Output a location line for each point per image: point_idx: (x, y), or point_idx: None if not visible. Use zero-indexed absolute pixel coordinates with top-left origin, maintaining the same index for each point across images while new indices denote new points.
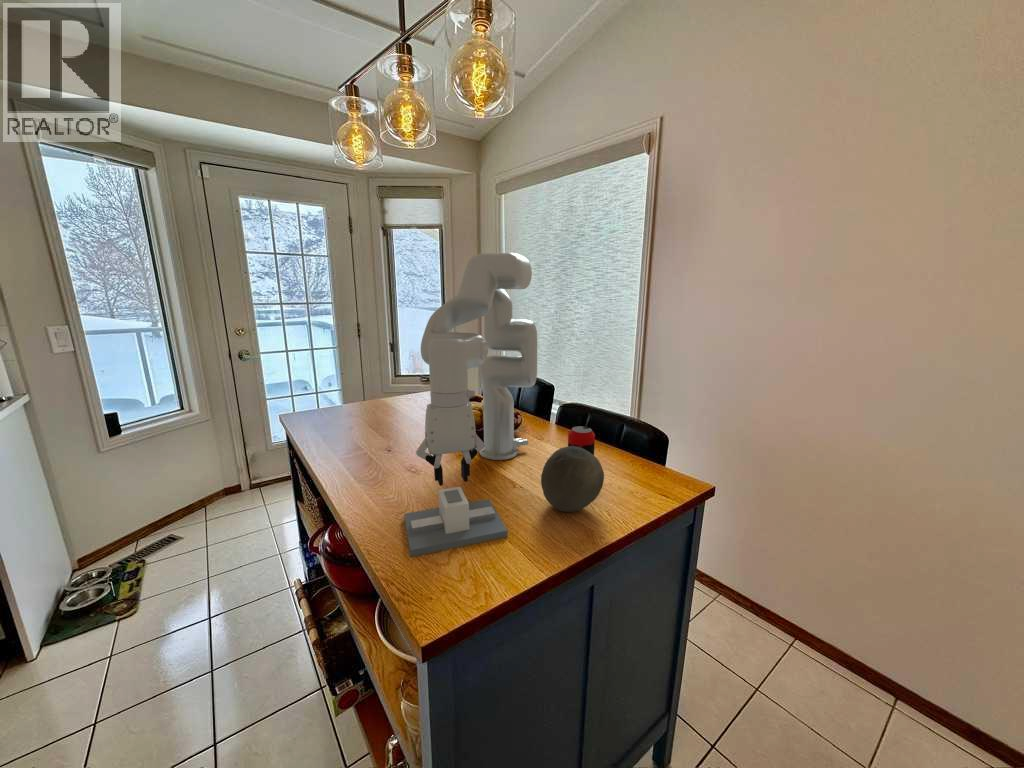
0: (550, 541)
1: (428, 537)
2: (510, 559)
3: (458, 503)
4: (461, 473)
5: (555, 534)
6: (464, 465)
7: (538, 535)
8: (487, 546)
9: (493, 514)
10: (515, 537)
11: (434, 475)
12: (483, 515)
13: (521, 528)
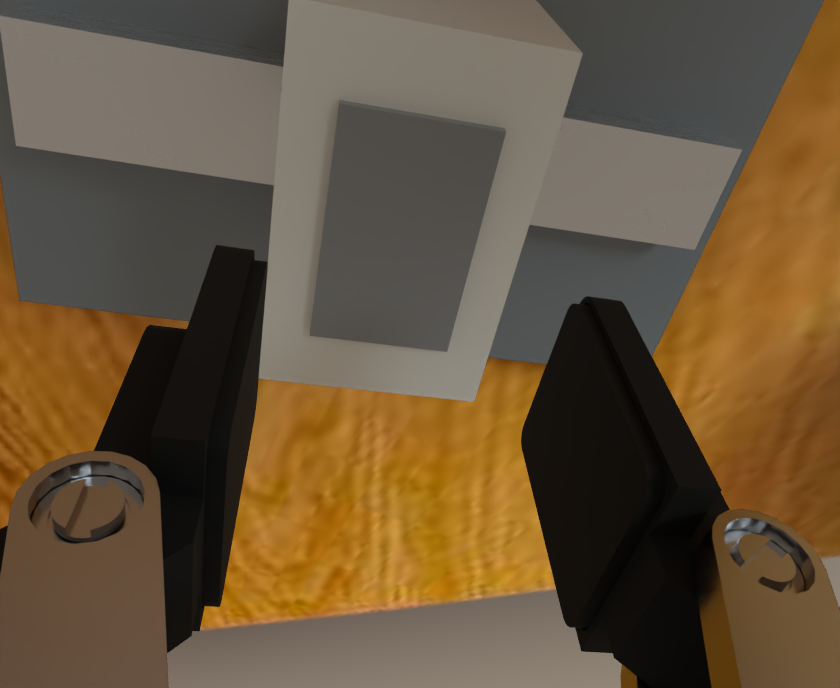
0: (767, 455)
1: (155, 229)
2: (525, 479)
3: (395, 366)
4: (580, 331)
5: (835, 427)
6: (579, 628)
7: (766, 402)
8: (486, 369)
9: (677, 241)
10: (660, 368)
11: (140, 344)
12: (603, 234)
13: (750, 317)
